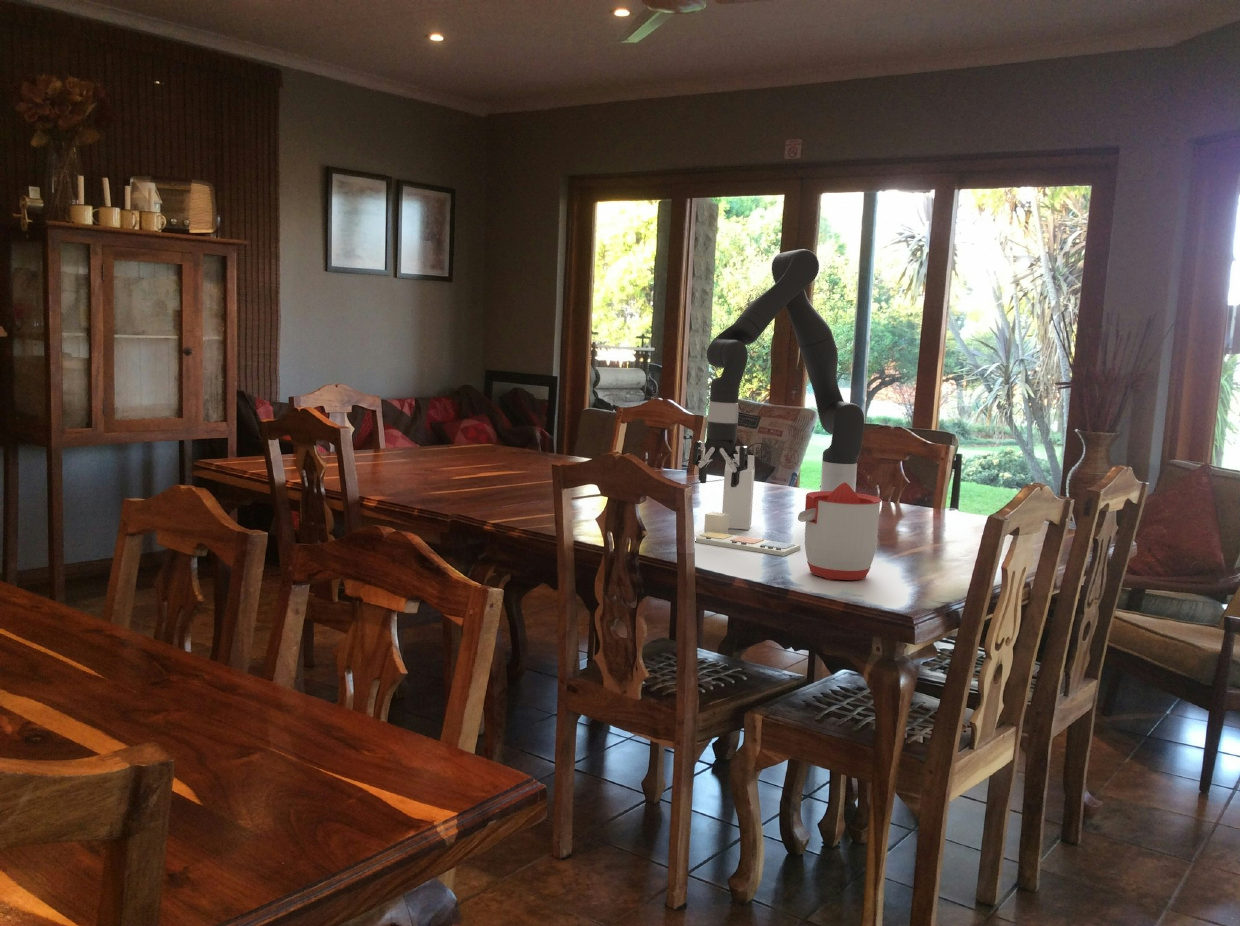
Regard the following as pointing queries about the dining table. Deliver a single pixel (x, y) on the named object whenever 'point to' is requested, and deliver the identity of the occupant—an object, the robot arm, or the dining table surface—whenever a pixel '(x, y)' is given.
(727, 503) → the milk carton
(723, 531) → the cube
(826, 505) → the citrus juicer
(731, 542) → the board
